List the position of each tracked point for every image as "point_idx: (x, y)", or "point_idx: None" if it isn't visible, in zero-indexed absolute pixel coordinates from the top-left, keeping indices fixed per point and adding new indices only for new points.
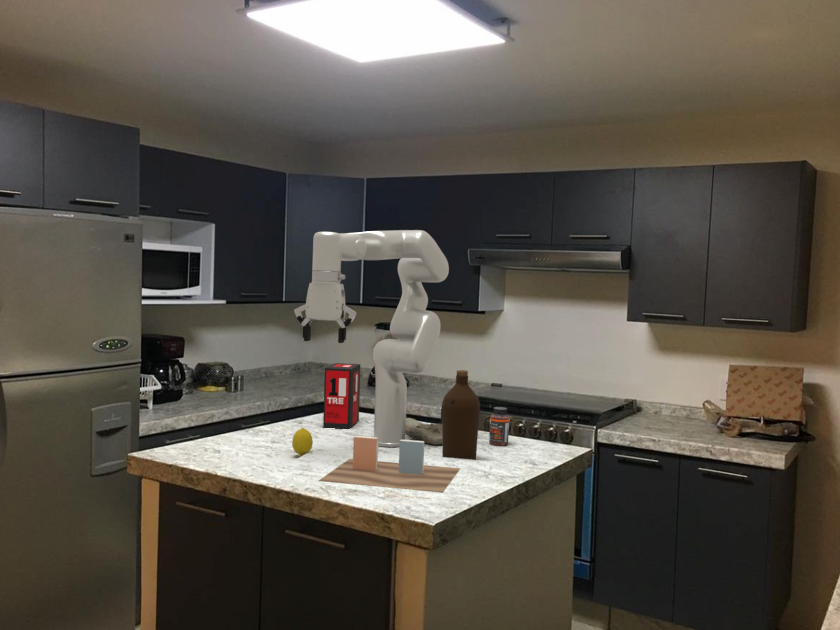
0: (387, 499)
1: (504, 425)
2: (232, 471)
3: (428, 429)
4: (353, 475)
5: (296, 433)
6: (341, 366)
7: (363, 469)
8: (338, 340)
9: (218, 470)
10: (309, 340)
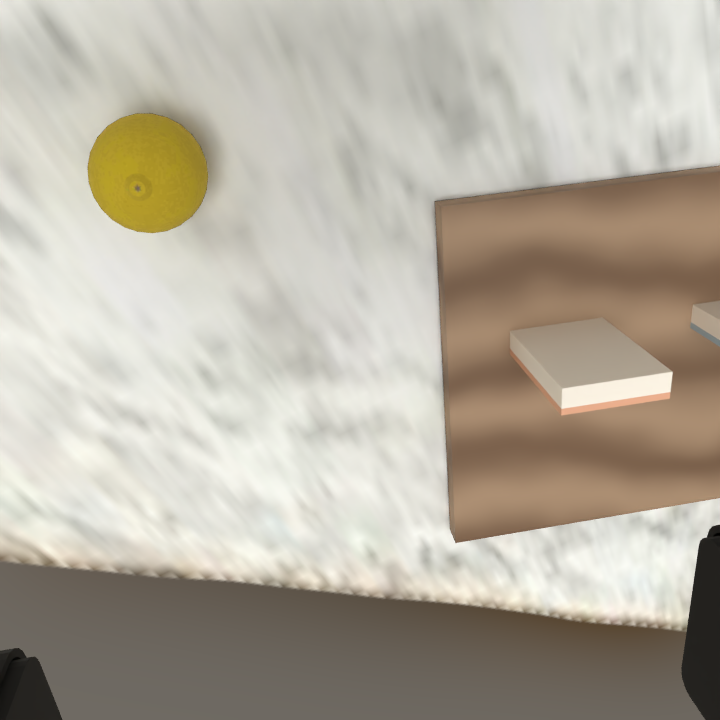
0: (679, 535)
1: None
2: (72, 511)
3: None
4: (543, 438)
5: (123, 221)
6: None
7: None
8: (708, 714)
9: (15, 524)
10: (24, 659)
